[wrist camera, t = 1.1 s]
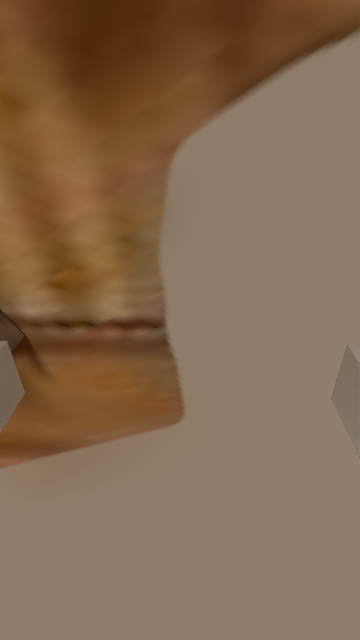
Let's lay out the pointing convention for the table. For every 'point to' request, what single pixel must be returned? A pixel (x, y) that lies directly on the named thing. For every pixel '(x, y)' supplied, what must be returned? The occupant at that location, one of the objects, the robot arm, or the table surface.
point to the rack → (9, 332)
